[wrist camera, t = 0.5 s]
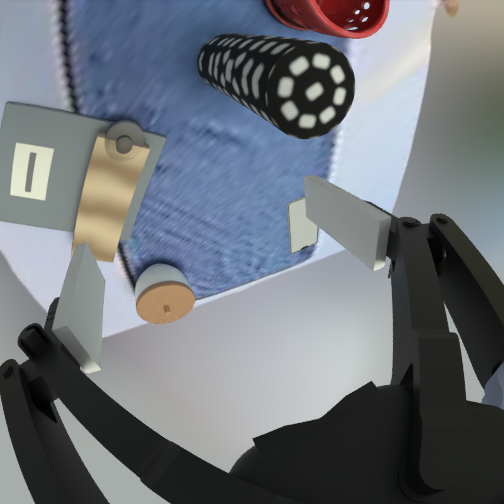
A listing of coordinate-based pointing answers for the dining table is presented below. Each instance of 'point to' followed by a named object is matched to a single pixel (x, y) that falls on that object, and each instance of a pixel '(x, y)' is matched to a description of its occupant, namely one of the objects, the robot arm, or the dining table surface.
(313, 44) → the spotted tube
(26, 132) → the label panel
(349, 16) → the plant pot
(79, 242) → the swing arm
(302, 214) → the smartphone
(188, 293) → the lidded jar
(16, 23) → the dining table surface
